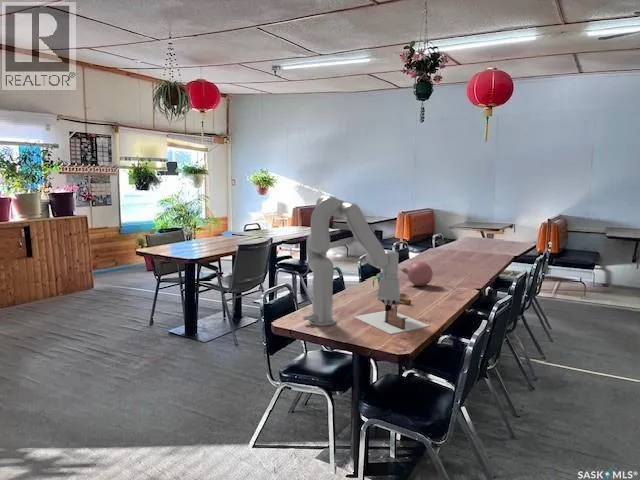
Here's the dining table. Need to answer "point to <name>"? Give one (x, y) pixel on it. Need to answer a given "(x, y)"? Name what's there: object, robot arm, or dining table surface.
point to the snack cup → (378, 279)
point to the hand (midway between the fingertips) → (388, 312)
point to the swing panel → (393, 310)
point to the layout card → (379, 323)
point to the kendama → (404, 300)
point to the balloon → (419, 273)
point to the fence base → (394, 320)
